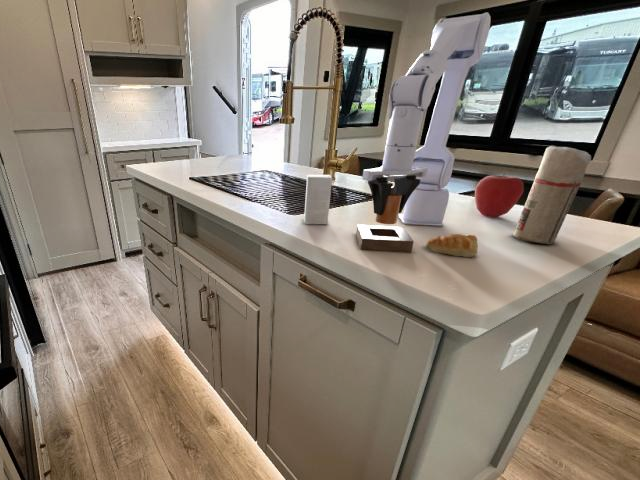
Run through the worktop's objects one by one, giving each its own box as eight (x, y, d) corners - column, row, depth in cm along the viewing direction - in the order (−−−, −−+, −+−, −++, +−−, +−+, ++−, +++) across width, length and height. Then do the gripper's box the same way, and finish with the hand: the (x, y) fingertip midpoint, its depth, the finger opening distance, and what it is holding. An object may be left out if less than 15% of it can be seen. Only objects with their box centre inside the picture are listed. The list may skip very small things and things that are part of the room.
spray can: (515, 231, 89) (549, 144, 79) (557, 239, 84) (598, 146, 74) (507, 239, 83) (541, 146, 74) (551, 248, 78) (594, 149, 69)
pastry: (428, 254, 75) (433, 237, 73) (421, 244, 81) (425, 227, 79) (478, 258, 73) (484, 240, 71) (467, 247, 79) (472, 230, 77)
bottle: (387, 218, 81) (394, 184, 78) (400, 223, 78) (408, 187, 74) (371, 219, 80) (377, 185, 77) (384, 225, 77) (391, 189, 73)
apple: (515, 215, 102) (531, 172, 97) (510, 223, 95) (527, 177, 90) (472, 208, 109) (484, 168, 103) (464, 216, 101) (477, 172, 96)
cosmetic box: (325, 220, 98) (330, 174, 92) (327, 225, 94) (333, 177, 88) (303, 219, 98) (307, 174, 92) (304, 224, 94) (308, 177, 89)
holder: (401, 237, 85) (403, 226, 84) (411, 252, 76) (413, 241, 75) (355, 234, 87) (357, 224, 86) (360, 249, 78) (362, 238, 77)
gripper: (415, 142, 77) (402, 206, 83) (358, 144, 73) (348, 211, 79) (441, 145, 71) (424, 213, 78) (380, 148, 67) (368, 219, 74)
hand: (387, 212), depth 78 cm, fingers closed on bottle, 4 cm apart
